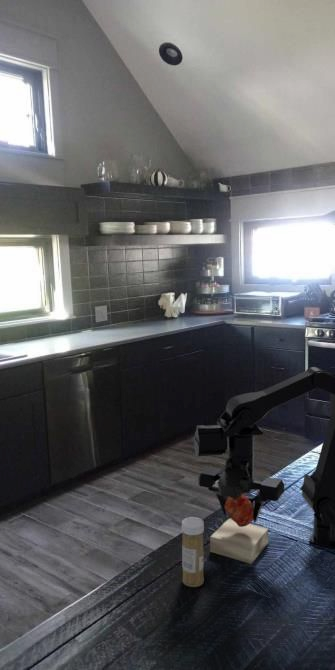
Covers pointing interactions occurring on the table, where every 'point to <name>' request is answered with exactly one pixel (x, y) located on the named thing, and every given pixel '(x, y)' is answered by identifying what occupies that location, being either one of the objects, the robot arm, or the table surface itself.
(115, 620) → the table surface
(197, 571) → the sprinkles bottle
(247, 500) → the red oval lump
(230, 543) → the pale wooden block
